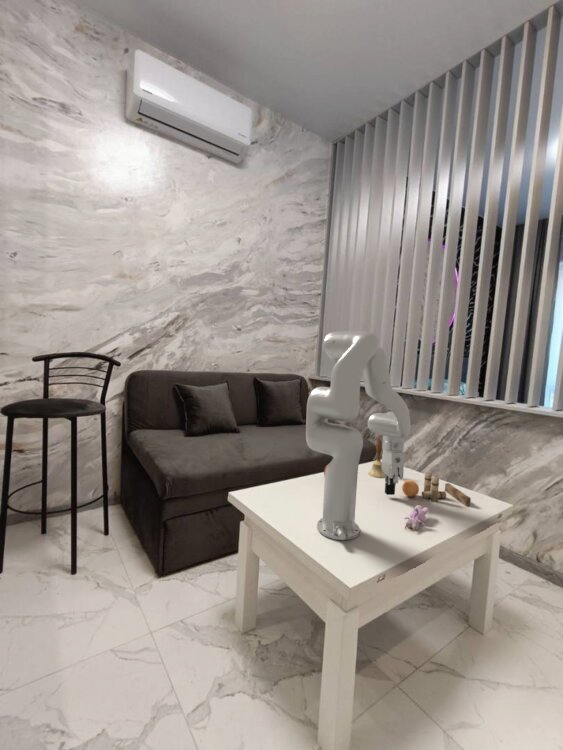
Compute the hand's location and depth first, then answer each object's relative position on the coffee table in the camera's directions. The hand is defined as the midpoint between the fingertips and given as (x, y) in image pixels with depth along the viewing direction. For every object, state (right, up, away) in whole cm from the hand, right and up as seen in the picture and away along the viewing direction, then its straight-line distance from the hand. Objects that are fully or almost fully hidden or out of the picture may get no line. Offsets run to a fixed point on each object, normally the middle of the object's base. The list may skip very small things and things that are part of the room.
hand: (389, 493), depth 132 cm
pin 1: (+16, -2, +4) cm, 16 cm away
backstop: (+26, -3, +2) cm, 27 cm away
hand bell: (+2, 0, +25) cm, 25 cm away
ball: (+9, +1, +2) cm, 9 cm away
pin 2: (+16, -2, -1) cm, 16 cm away
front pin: (+13, -1, +1) cm, 13 cm away
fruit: (-19, 0, +15) cm, 24 cm away
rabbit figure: (+3, -3, -19) cm, 19 cm away
